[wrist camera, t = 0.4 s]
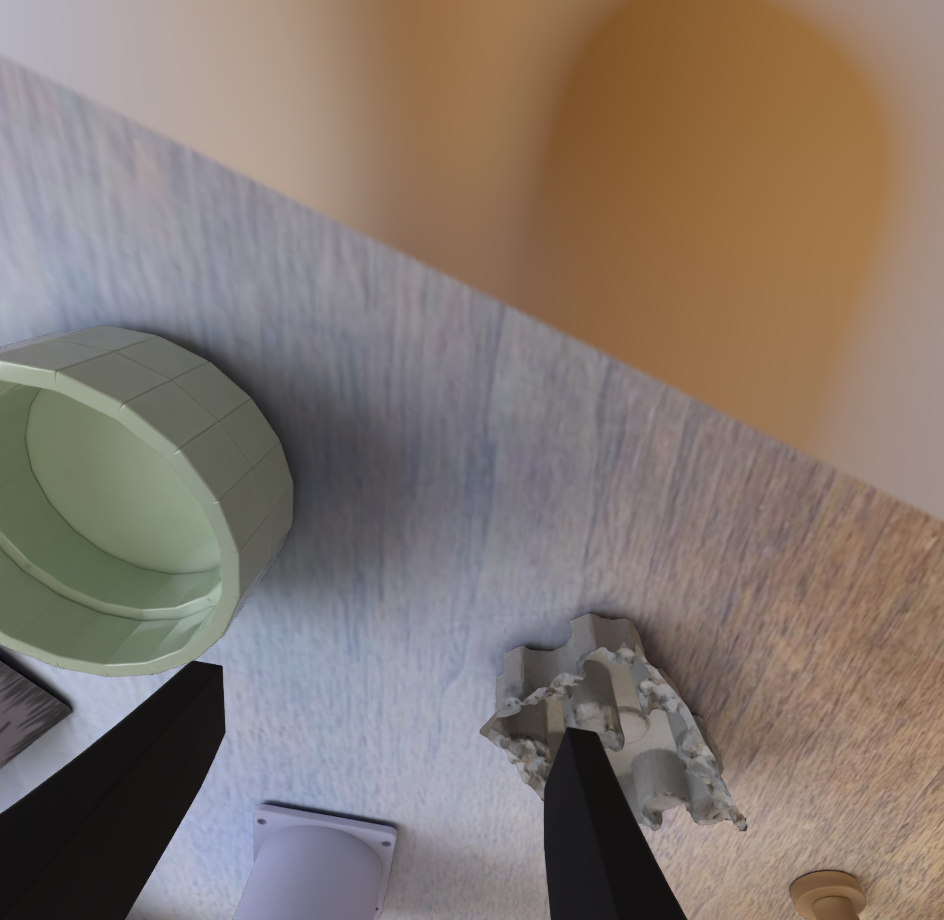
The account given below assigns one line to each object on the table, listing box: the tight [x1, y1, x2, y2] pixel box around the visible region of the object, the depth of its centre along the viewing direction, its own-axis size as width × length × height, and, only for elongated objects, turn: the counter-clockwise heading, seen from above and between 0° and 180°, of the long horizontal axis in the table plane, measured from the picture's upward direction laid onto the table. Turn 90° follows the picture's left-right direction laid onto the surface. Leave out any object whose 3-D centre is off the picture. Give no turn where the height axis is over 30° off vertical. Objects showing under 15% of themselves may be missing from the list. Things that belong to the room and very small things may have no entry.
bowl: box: [0, 326, 294, 677], centre depth 18 cm, size 11×11×5 cm
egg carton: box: [480, 613, 747, 831], centre depth 22 cm, size 11×8×4 cm
